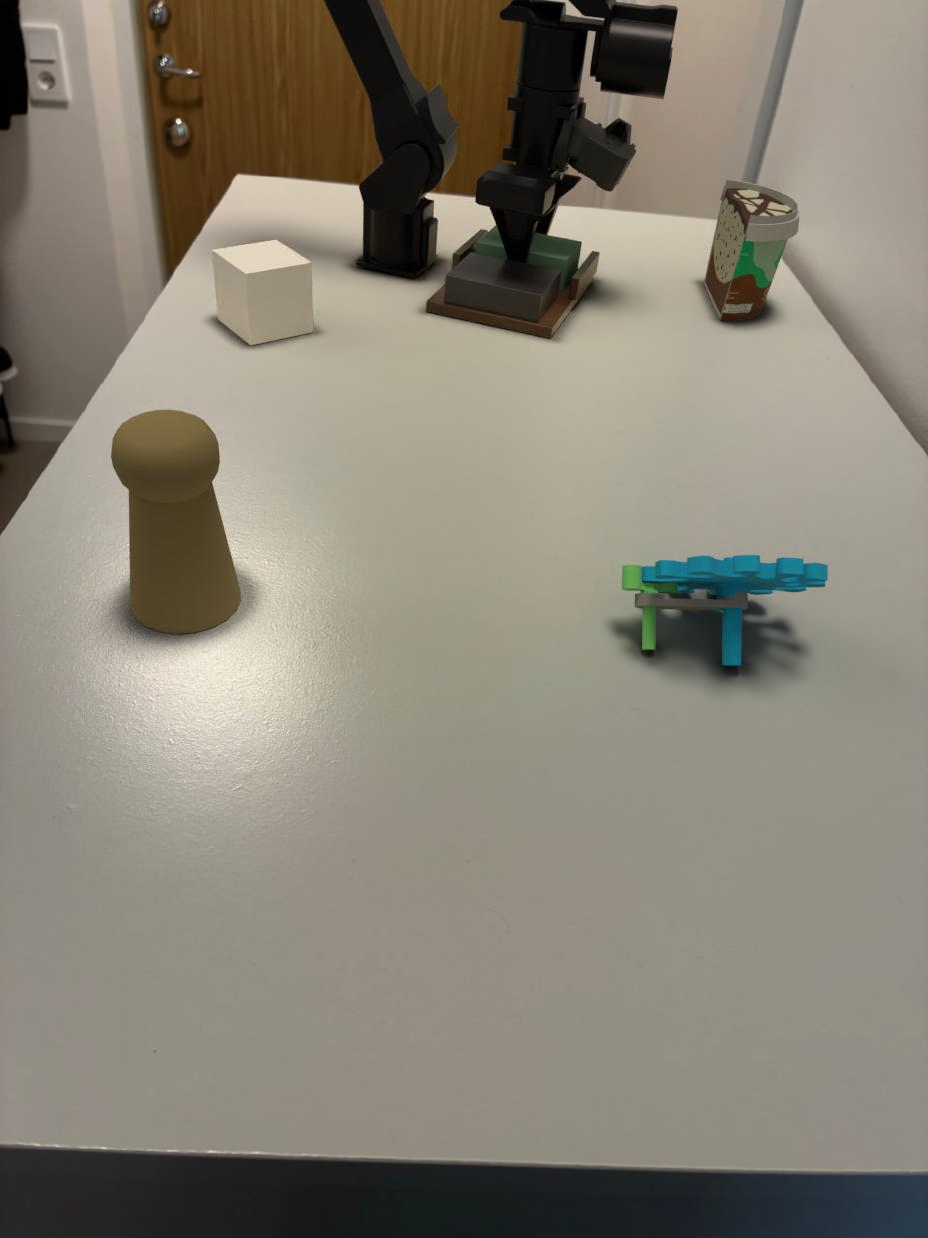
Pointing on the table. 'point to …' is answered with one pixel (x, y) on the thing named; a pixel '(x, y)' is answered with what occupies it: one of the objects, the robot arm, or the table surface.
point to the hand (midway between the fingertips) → (526, 262)
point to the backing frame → (508, 291)
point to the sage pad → (539, 252)
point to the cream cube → (263, 291)
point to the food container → (748, 247)
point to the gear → (716, 590)
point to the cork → (175, 523)
